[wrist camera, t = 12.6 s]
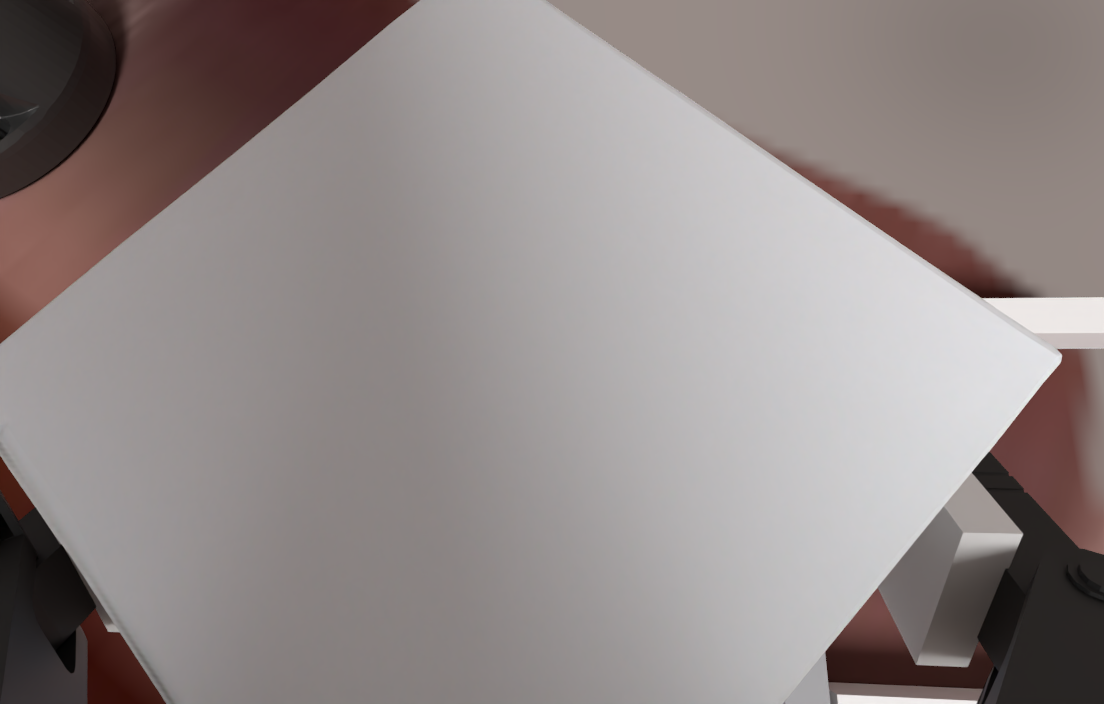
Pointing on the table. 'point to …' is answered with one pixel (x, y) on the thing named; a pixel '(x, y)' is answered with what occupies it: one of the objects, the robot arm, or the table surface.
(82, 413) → the supplement box
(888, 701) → the bay rack
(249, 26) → the table surface
